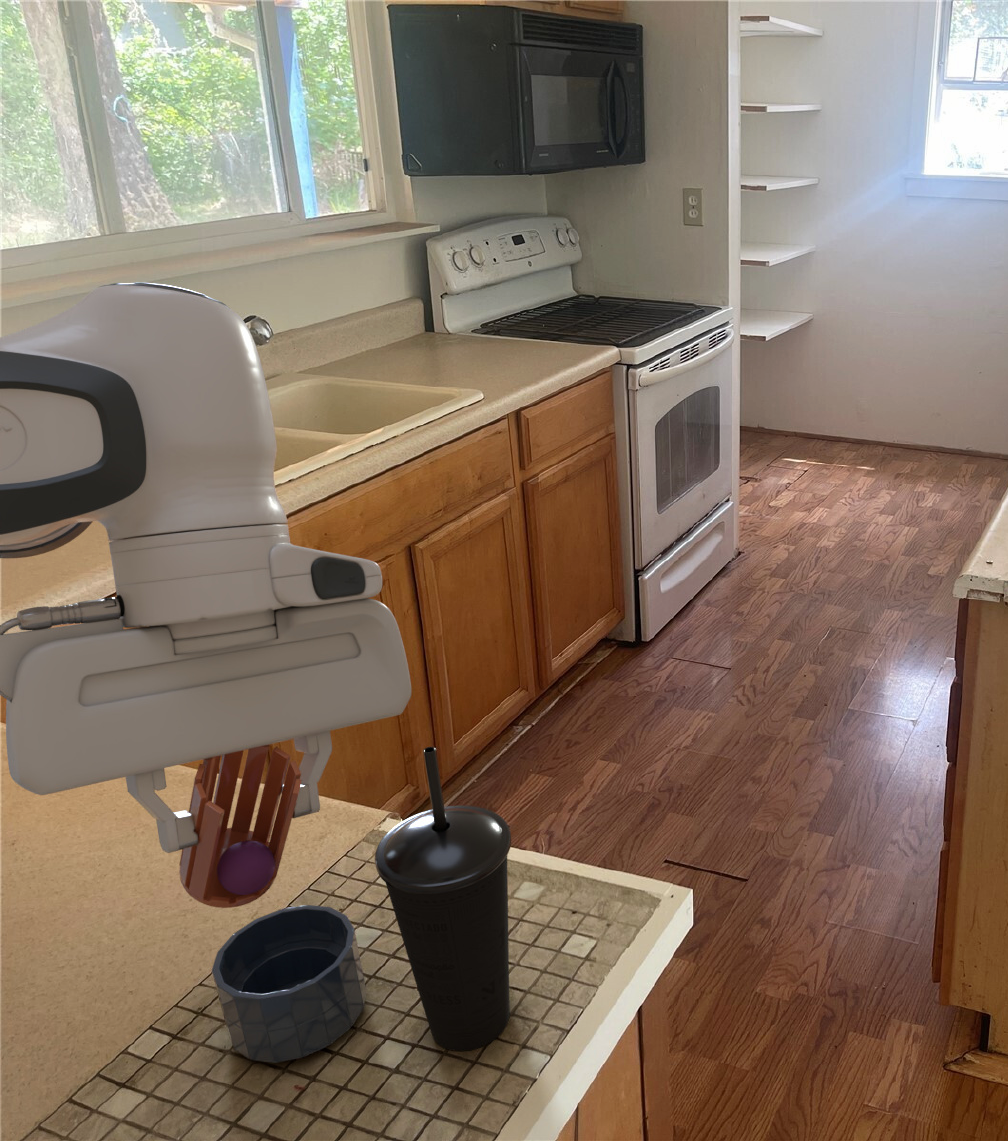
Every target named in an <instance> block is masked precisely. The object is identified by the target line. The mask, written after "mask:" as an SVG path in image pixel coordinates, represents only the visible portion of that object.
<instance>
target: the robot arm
mask: <svg viewBox="0 0 1008 1141" xmlns="http://www.w3.org/2000/svg"><path fill="white" fill-rule="evenodd" d="M264 372H265V371H264V369H263V365H262V361H261V357H260V355H259V352H258V348H257V346H256V342H255V340H254V337H253V335H252V333H251V331H250V329H249V327H248V326H247V324H246V322H245V321H244V320H243V318H242V317H241V316H240V315H239V314H238V313H237V312H236V311H234V310H233V309H232V308H230V307H229V306H227V305H226V304H225V303H224V302H223V301H220V300H218V299H214V298H212V297H209V296H207V294H204V293H201V292H198V291H194V290H190V289H187V288H183V287H178V286H173V285H169V284H161V283H154V282H153V283H152V282H151V283H150V282H137V281H135V282H130V283H129V282H127V283H123V282H116V283H115V282H113V283H110V284H104V285H100V286H98V287H94V288H93V289H91V291H89V292H88V293H87V294H86V295H85V296H83V298H81V299H80V300H78V302H76V303H75V304H73V305H72V306H70V307H68V308H67V309H65V310H63V311H61V312H59V313H57V314H55V315H53V316H51V317H49V318H47V319H45V320H42V321H41V322H38V323H36V324H34V325H31V326H29V327H26V328H24V329H21V330H18V331H16V332H13V333H10V334H6V335H3V336H0V559H24V558H30V557H35V556H39V555H43V554H46V553H49V552H52V551H55V550H57V549H59V548H61V547H63V546H65V545H67V544H69V543H70V542H72V541H73V540H75V539H76V538H78V537H79V536H80V535H82V534H83V533H84V532H85V531H86V530H87V529H88V528H89V527H90V526H91V525H92V524H93V522H97V523H99V524H101V525H102V526H103V527H104V528H105V530H106V534H107V541H108V547H109V553H110V559H111V565H112V566H111V567H112V572H113V577H114V578H113V579H114V587H115V595H116V596H113V597H105V598H98V599H91V600H84V601H77V602H74V603H70V604H66V605H59V606H58V605H57V606H49V605H48V606H47V605H45V606H44V605H43V606H34V607H29V608H25V609H22V610H19V611H17V612H16V617H14V618H11V619H8V620H5V621H4V622H2V623H1V624H0V696H1V697H2V698H4V699H6V706H5V740H6V742H5V743H6V754H7V756H6V757H7V764H8V772H9V775H10V777H11V779H12V781H14V783H16V784H17V785H18V786H19V787H21V788H22V789H24V790H26V791H28V792H30V793H32V794H35V795H40V796H47V795H52V794H56V793H61V792H65V791H70V790H73V789H78V788H79V789H80V788H83V787H87V786H91V785H96V784H100V783H105V782H109V781H113V780H119V779H123V778H125V782H126V788H127V792H128V793H129V794H130V796H131V797H133V799H134V800H135V801H136V802H137V803H138V804H139V805H140V806H141V807H142V808H143V809H144V810H145V811H146V812H147V813H148V814H149V815H150V816H151V817H152V818H153V819H155V820H156V827H157V828H156V829H157V836H158V841H159V845H160V847H161V850H162V851H163V852H164V853H167V854H171V853H174V852H178V851H182V849H185V848H189V847H192V846H195V845H198V834H197V833H195V832H194V830H195V828H196V827H195V821H194V815H193V814H191V813H189V810H186V809H184V810H179V811H176V812H174V811H173V810H172V809H171V808H170V807H169V806H168V804H167V803H165V801H164V800H163V799H162V798H161V797H160V796H159V795H158V794H157V793H156V792H155V791H157V792H158V791H163V790H165V789H166V788H167V780H166V772H165V769H168V768H171V767H175V766H180V765H184V764H188V763H189V764H190V763H194V762H198V761H202V760H204V759H207V758H211V757H216V756H220V755H221V756H222V755H225V754H229V753H233V752H238V751H242V750H244V751H246V750H247V751H248V750H249V749H251V748H255V747H260V746H264V745H269V744H270V745H273V744H277V743H281V742H286V741H290V740H293V743H294V744H293V745H294V749H295V751H297V752H300V753H303V756H302V759H301V760H300V761H301V762H300V764H299V766H298V768H299V770H300V772H301V777H300V779H301V780H302V782H301V786H300V790H299V794H298V798H297V801H296V805H295V809H294V813H293V816H292V819H297V818H301V817H304V816H308V815H309V816H310V815H313V814H315V813H319V812H320V810H321V803H320V802H321V801H320V794H319V787H318V783H319V782H320V780H321V778H322V776H323V774H324V771H325V768H326V766H327V764H328V762H329V759H330V757H331V755H332V752H333V743H332V735H331V731H334V730H338V729H344V728H348V727H353V726H357V725H361V724H366V723H370V722H375V721H379V720H383V719H387V718H392V717H397V716H399V715H402V714H403V712H404V711H405V709H406V707H407V705H408V704H409V702H410V700H411V698H412V697H411V696H412V683H411V682H412V681H411V675H410V669H409V664H408V660H407V654H406V650H405V645H404V642H403V638H402V635H401V634H402V633H401V631H400V628H399V625H398V622H397V619H396V617H395V616H394V614H393V612H392V611H391V609H390V608H389V607H388V606H387V605H385V604H384V603H383V602H381V601H379V600H376V599H373V597H376V596H377V595H379V594H380V593H381V591H382V588H383V575H382V570H381V566H380V565H379V564H378V563H377V562H375V561H373V560H370V559H367V558H361V557H356V556H351V555H346V554H342V553H341V554H340V553H335V552H331V551H330V552H329V551H325V550H319V549H314V548H310V547H304V546H299V545H296V544H293V543H291V536H290V530H289V524H288V523H289V522H288V518H287V514H286V512H285V509H284V508H283V505H282V502H281V501H280V499H279V498H280V497H279V496H278V493H277V489H276V483H275V464H276V459H277V450H278V446H277V444H278V443H277V436H276V431H275V423H274V418H273V412H272V405H271V401H270V396H269V391H268V386H267V381H266V378H265V373H264ZM61 625H62V626H61ZM17 626H18V629H19V630H21V631H18V632H10V633H7V632H8V631H10V630H11V629H12V628H15V627H17ZM270 745H269V746H270ZM283 787H284V784H283ZM282 791H283V788H282ZM281 794H282V792H281Z"/></svg>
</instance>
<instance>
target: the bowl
mask: <svg viewBox="0 0 1008 1141" xmlns="http://www.w3.org/2000/svg"><path fill="white" fill-rule="evenodd" d="M359 951H360V950H359V946H358V942H357V936H356V930H355V928H354V926H353V924H352V922H351V921H350V919H349V917H348V916H347V915H346V914H345V913H343V912H341V911H338V910H336V909H334V908H333V907H331V906H322V905H315V904H314V905H313V904H312V905H311V904H305V905H298V906H291V907H286V908H285V907H284V908H280V909H278V910H275V911H273V912H270V913H267V914H264V915H262V916H260V917H257V918H255V919H253V920H252V921H250V922H249V923H247V924H245V925H244V926H243V927H242V928H239V929H238V930H237V931H235V932H234V933H233V934H231V935H230V937H229V938H228V939H226V941H225V942H224V944H222V946H221V947H220V948H219V949H218V950H217V952H216V955H215V958H214V962H213V964H212V968H211V974H212V977H213V981H214V982H213V983H214V985H215V989H216V993H217V997H218V1000H219V1004H220V1007H221V1012H222V1016H223V1019H224V1024H225V1027H226V1030H227V1034H228V1036H229V1037H228V1038H229V1039H230V1041H231V1045H232V1048H233V1049H234V1051H236V1052H237V1053H239V1054H240V1055H242V1056H244V1057H245V1058H247V1059H248V1060H249V1061H250V1060H251V1061H256V1062H257V1061H258V1062H264V1063H265V1062H266V1063H273V1064H274V1063H282V1062H288V1061H292V1060H297V1059H303V1058H305V1057H307V1056H309V1055H311V1054H314V1053H316V1052H318V1051H320V1050H322V1049H324V1048H326V1047H328V1046H330V1045H332V1044H333V1043H334V1042H336V1041H338V1039H339V1038H340V1037H342V1036H343V1035H344V1034H345V1033H346V1032H348V1031H349V1030H350V1029H352V1028H353V1026H354V1024H355V1023H356V1021H357V1019H358V1018H359V1017H360V1014H361V1013H362V1011H363V1010H364V1008H365V1005H366V1004H365V1003H366V996H367V995H366V994H367V986H366V982H365V977H364V971H363V966H362V962H361V955H360V952H359Z"/></svg>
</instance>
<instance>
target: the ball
mask: <svg viewBox="0 0 1008 1141" xmlns="http://www.w3.org/2000/svg"><path fill="white" fill-rule="evenodd" d="M274 870H275V859H274V856H273V854H272V852H271V851H270V849H269V848H268V847H267V846H265V845H264V844H262V843H260V842H256V841H242V842H239V843H236V844H234V845H232V846H231V847H229V848H228V849H227V850H226V851H225V852H224V853H223V855H222V856H221V858H220V860H219V862H218V866H217V876H218V879H219V882H220V883H221V885H222V886H223V887H224V888H225V889H226V890H227V891H229V892H231V893H234V894H237V895H248V894H252V893H255V892H257V891H259V890H261V889H262V888H263V887H265V886H266V885H267V884H268V882H269V881H270V880H271V878H272V876H273V874H274Z"/></svg>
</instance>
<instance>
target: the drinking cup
mask: <svg viewBox="0 0 1008 1141" xmlns="http://www.w3.org/2000/svg"><path fill="white" fill-rule="evenodd" d="M422 754H423V760H424V766H425V773H426V779H427V784H428V785H427V786H428V790H429V792H428V793H429V798H430V804H431V805H430V806H431V809H429V810H425V811H422V812H419V813H417V814H413V815H412V816H410V817H408V818H406V819H404V820H403V821H401V822H399V823H398V824H396V825H395V826H393V827H392V828H391V829H390V830H389V831H387V833H386V834H385V835H384V836H383V837H382V839H380V841H379V843H378V845H377V846H376V850H375V853H374V865H375V869H376V873H377V875H378V876H379V877H380V879H381V880H382V881H383V882H384V883H385V887H386V889H387V893H388V896H389V899H390V903H391V906H392V908H393V913H394V915H395V918H396V922H397V925H398V930H399V932H400V934H401V938H402V942H403V945H404V949H405V951H406V955H407V958H408V961H409V965H410V968H411V971H412V974H413V975H412V976H413V978H414V981H415V985H416V988H417V991H418V994H419V998H420V1001H421V1004H422V1007H423V1011H424V1014H425V1017H426V1021H427V1024H428V1027H429V1031H430V1034H431V1037H432V1038H433V1040H434V1042H436V1044H437V1045H438V1046H440V1047H442V1048H444V1049H446V1050H448V1051H452V1052H453V1051H454V1052H468V1051H472V1050H476V1049H480V1048H482V1047H485V1046H486V1045H489V1044H490V1043H492V1042H493V1041H495V1040H496V1039H497V1038H498V1037H500V1035H501V1034H502V1033H503V1032H504V1030H505V1029H506V1027H507V1025H508V1023H509V1020H510V961H509V960H510V956H509V955H510V953H509V951H510V950H509V887H508V886H509V883H508V882H509V881H508V877H509V876H508V854H509V853H510V850H511V846H512V832H511V829H510V826H509V824H508V823H507V822H506V820H505V819H504V818H503V816H500V814H498V813H497V812H494V811H492V810H490V809H487V808H484V807H481V806H480V807H479V806H475V805H460V804H459V805H447V806H445V802H444V796H443V789H442V781H441V775H440V769H439V768H440V767H439V761H438V755H437V749H436V747H434V746H427V747H425V748H424V749H423V751H422Z"/></svg>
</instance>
